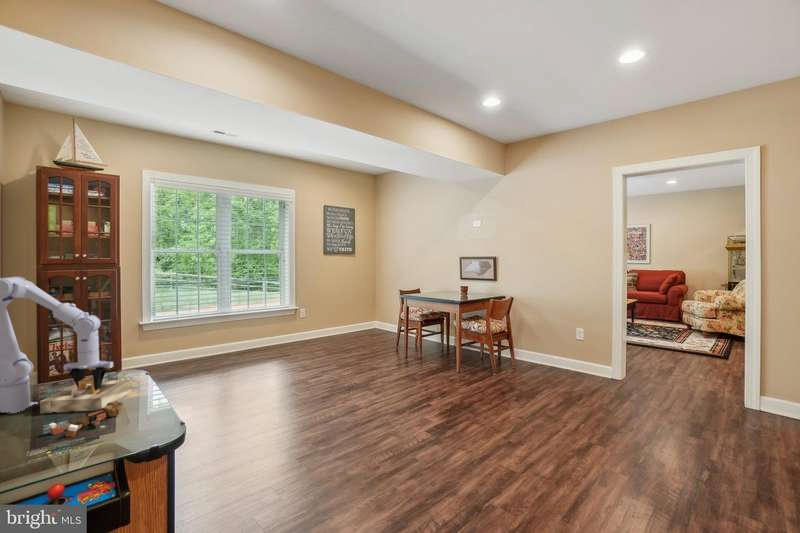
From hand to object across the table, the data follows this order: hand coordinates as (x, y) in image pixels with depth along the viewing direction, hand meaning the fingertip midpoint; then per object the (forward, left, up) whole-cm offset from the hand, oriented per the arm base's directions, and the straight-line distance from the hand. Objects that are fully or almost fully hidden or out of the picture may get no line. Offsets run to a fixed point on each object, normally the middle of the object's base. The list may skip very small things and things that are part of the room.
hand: (89, 389), depth 131 cm
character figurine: (+12, -19, -5) cm, 23 cm away
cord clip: (0, 0, -2) cm, 2 cm away
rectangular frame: (0, 0, -4) cm, 4 cm away
